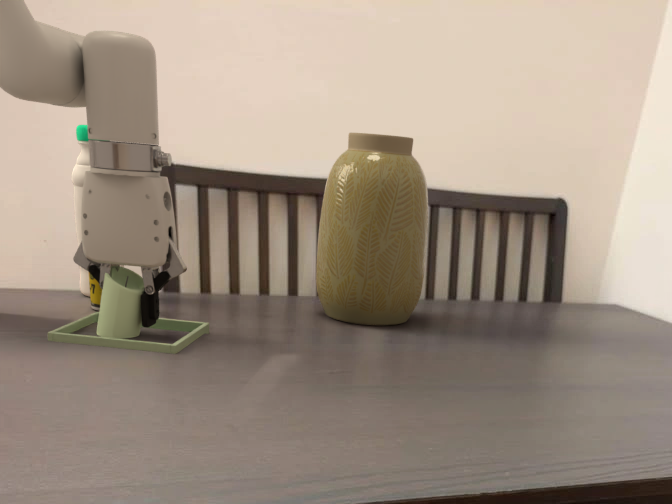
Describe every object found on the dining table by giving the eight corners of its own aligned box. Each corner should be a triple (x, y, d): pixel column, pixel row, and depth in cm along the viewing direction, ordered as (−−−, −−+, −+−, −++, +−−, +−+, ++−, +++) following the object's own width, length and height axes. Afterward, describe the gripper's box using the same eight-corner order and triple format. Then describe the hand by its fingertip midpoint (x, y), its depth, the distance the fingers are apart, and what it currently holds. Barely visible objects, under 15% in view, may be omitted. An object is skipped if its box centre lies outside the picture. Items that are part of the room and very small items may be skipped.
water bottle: (81, 290, 121) (68, 123, 111) (125, 291, 123) (117, 127, 113) (79, 298, 115) (66, 122, 105) (126, 299, 117) (117, 127, 107)
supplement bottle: (90, 305, 111) (86, 248, 107) (123, 305, 112) (119, 249, 109) (91, 312, 107) (87, 252, 103) (125, 312, 108) (122, 253, 105)
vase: (294, 316, 115) (301, 127, 104) (343, 302, 129) (354, 135, 118) (393, 334, 109) (412, 135, 98) (434, 317, 123) (454, 142, 112)
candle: (146, 345, 91) (157, 280, 87) (109, 345, 87) (119, 277, 84) (125, 330, 93) (135, 267, 90) (88, 329, 90) (97, 264, 86)
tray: (49, 353, 85) (46, 332, 84) (97, 330, 97) (96, 311, 96) (176, 367, 84) (175, 345, 83) (209, 341, 96) (209, 322, 95)
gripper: (206, 166, 85) (208, 324, 92) (69, 155, 86) (81, 311, 93) (186, 167, 78) (189, 336, 85) (37, 154, 79) (53, 323, 86)
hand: (133, 322), depth 89 cm, fingers closed on candle, 3 cm apart
